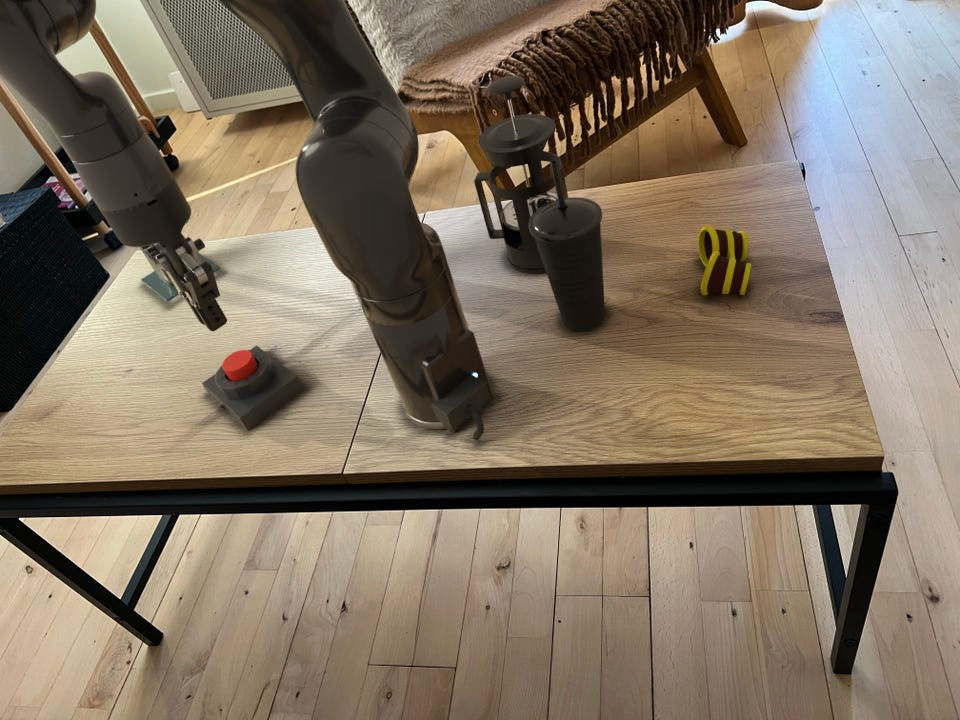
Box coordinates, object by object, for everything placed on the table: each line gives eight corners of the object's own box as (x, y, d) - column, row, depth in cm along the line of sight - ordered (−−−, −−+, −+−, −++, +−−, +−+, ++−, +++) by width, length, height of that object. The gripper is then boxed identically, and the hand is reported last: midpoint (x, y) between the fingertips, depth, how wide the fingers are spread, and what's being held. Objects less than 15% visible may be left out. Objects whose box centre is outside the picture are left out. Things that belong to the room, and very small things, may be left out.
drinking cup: (584, 349, 85) (552, 191, 72) (537, 323, 90) (500, 171, 77) (632, 312, 88) (609, 153, 75) (584, 289, 93) (555, 136, 80)
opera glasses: (747, 307, 85) (756, 270, 82) (697, 303, 86) (704, 267, 82) (741, 255, 92) (749, 219, 89) (695, 252, 93) (701, 216, 89)
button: (263, 367, 90) (257, 356, 89) (237, 386, 89) (230, 375, 88) (249, 356, 93) (242, 345, 92) (223, 374, 91) (216, 363, 90)
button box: (304, 389, 91) (291, 364, 89) (247, 431, 88) (232, 406, 86) (263, 358, 98) (250, 334, 95) (209, 395, 95) (194, 372, 92)
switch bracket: (222, 273, 116) (181, 199, 108) (170, 306, 113) (123, 233, 104) (194, 254, 123) (153, 183, 115) (144, 285, 119) (98, 214, 111)
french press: (589, 228, 102) (559, 56, 87) (578, 272, 96) (544, 94, 81) (503, 233, 106) (461, 70, 91) (487, 276, 100) (439, 107, 85)
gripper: (74, 189, 78) (160, 321, 89) (123, 224, 69) (212, 366, 80) (141, 153, 81) (216, 285, 92) (196, 183, 72) (272, 325, 83)
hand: (214, 322), depth 86 cm, fingers closed
